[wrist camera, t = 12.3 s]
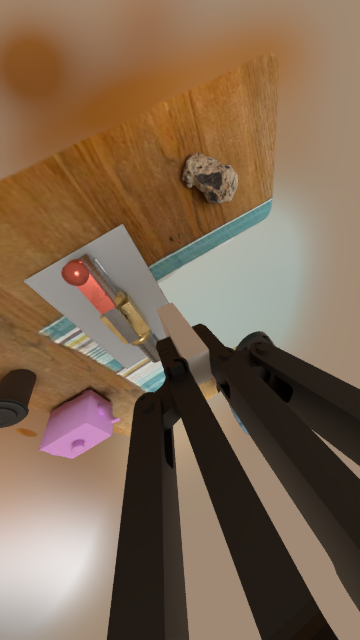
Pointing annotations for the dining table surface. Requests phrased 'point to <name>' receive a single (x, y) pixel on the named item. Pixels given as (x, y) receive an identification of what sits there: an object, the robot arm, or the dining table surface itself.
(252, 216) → the dining table surface
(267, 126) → the dining table surface
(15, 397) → the coffee cup
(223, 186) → the rock
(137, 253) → the mount board
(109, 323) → the valve body
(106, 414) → the pink toy block
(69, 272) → the lever
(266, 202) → the dining table surface
